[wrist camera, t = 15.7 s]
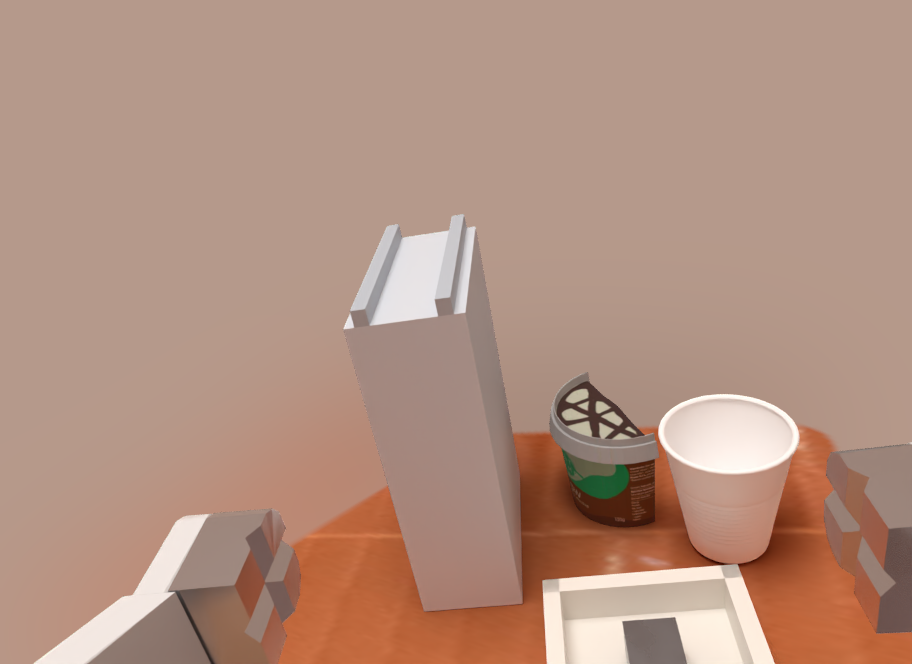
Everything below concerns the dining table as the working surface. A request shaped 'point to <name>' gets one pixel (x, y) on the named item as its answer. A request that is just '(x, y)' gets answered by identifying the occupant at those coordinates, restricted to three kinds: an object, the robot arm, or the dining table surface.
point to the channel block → (441, 415)
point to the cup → (729, 471)
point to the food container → (604, 456)
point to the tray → (654, 615)
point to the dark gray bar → (653, 641)
